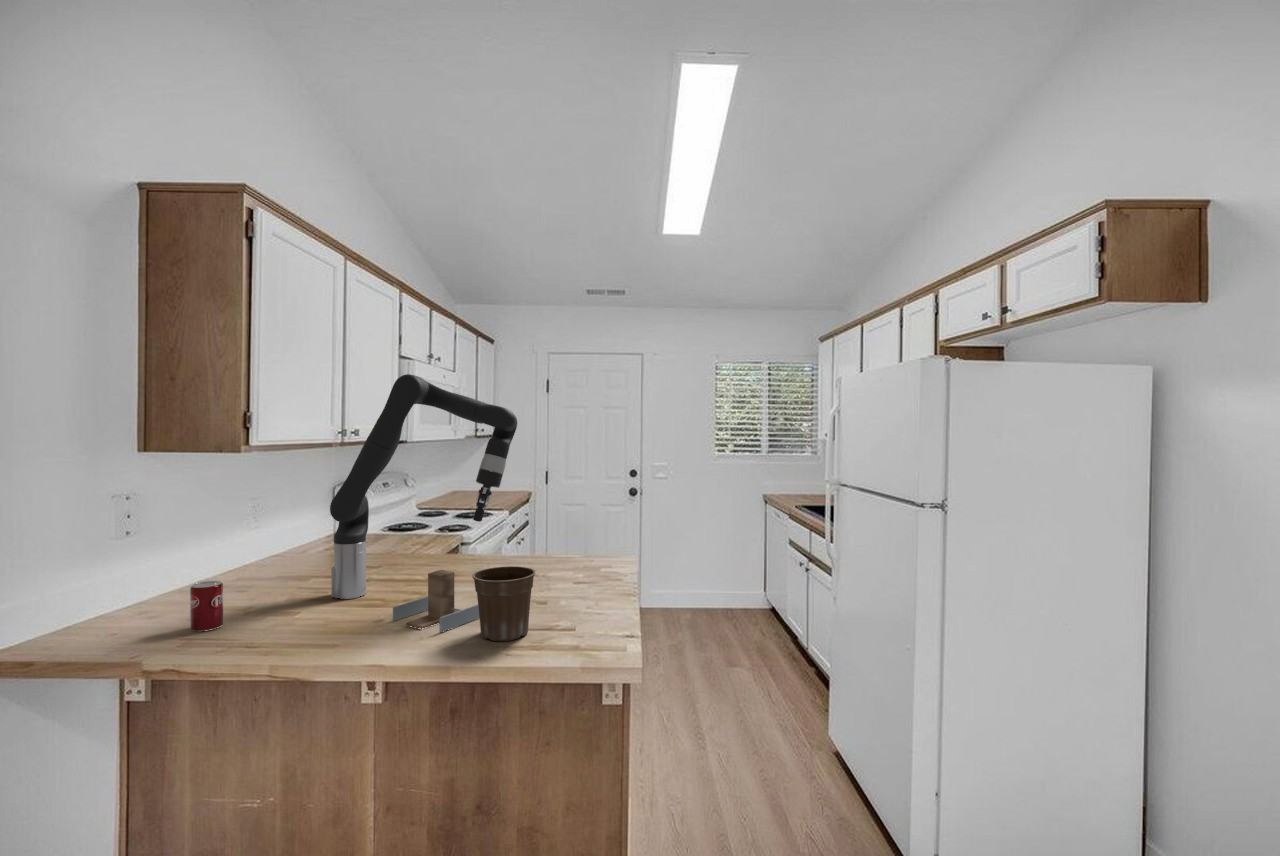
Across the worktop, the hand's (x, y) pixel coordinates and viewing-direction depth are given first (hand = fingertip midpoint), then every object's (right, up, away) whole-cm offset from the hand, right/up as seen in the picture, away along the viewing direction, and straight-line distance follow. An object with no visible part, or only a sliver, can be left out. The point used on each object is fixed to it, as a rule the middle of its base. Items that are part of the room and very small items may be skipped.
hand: (477, 521), depth 191 cm
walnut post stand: (-8, -25, -20) cm, 33 cm away
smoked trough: (-6, -25, -18) cm, 31 cm away
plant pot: (+15, -25, -30) cm, 42 cm away
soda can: (-66, -25, -25) cm, 75 cm away
